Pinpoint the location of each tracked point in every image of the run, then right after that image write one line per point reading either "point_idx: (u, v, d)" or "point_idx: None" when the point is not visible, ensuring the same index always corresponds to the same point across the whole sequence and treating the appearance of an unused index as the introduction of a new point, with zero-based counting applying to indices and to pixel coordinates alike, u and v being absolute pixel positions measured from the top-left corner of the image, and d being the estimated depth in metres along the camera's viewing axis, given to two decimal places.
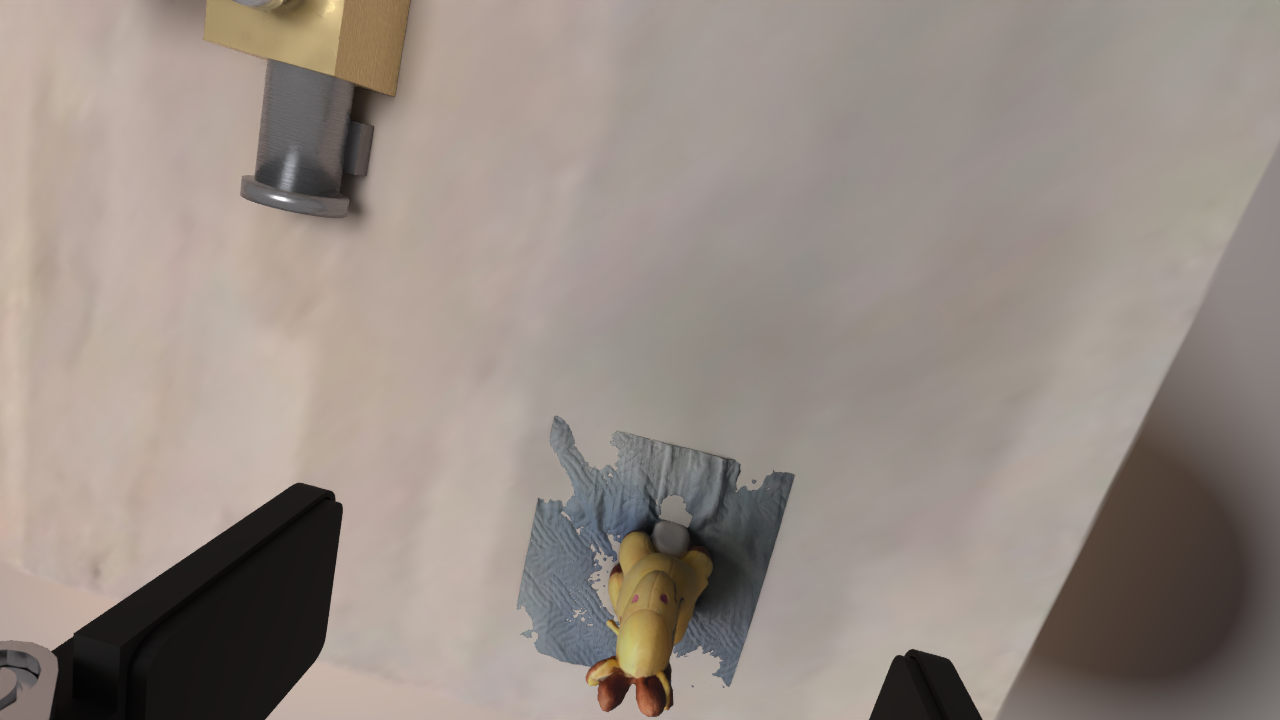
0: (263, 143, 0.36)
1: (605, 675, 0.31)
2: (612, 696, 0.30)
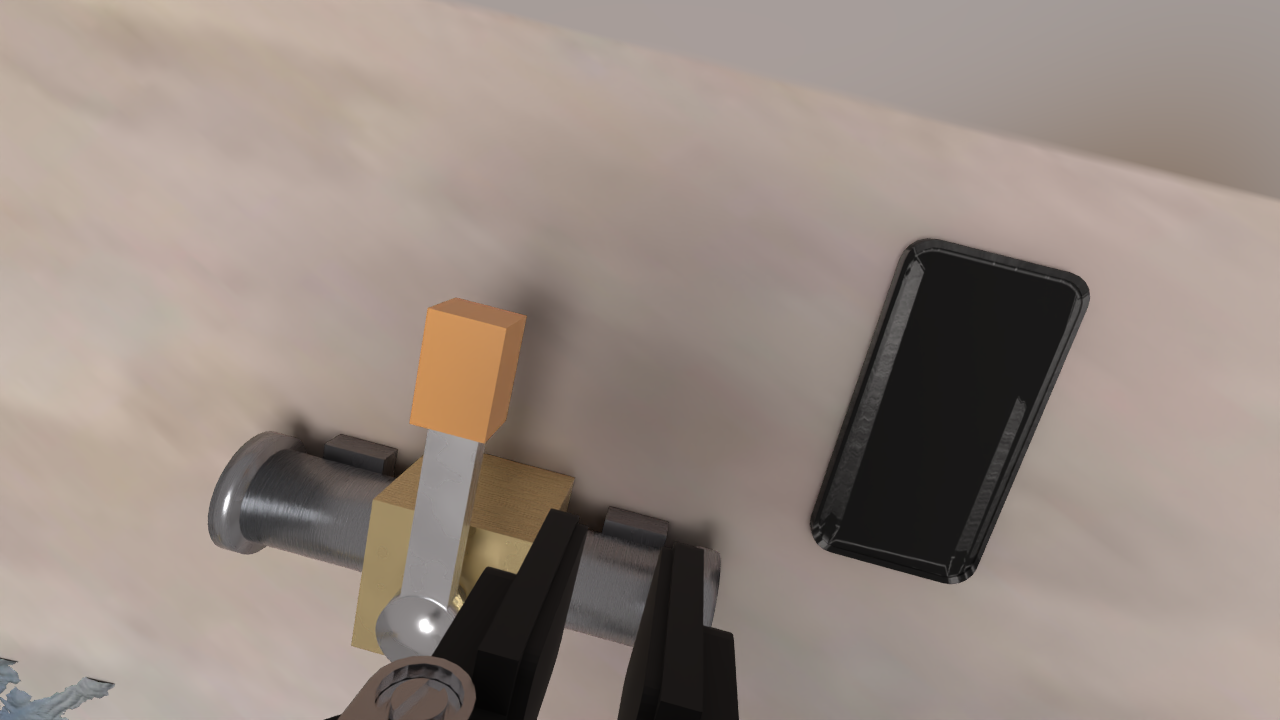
0: (291, 505, 0.29)
1: None
2: None
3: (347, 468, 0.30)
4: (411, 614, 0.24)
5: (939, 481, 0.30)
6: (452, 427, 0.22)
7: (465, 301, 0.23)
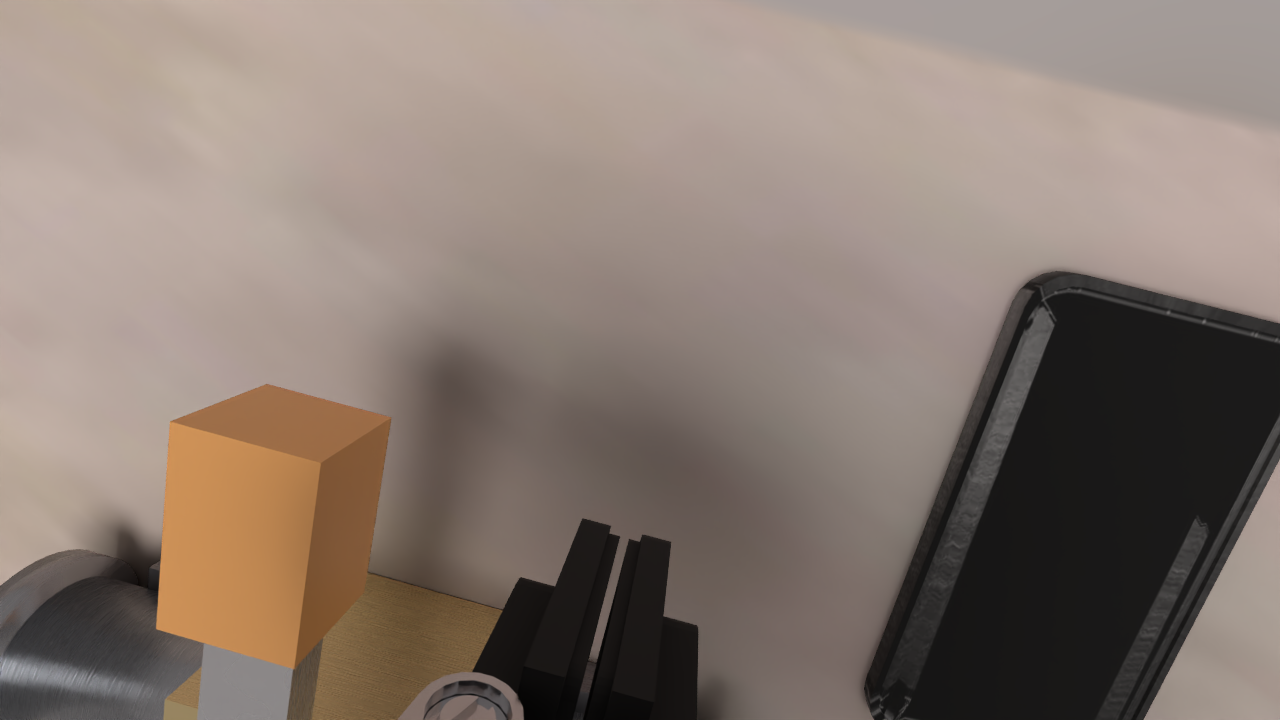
0: (68, 681, 0.18)
1: None
2: None
3: None
4: None
5: (1066, 638, 0.20)
6: (233, 638, 0.11)
7: (280, 392, 0.13)
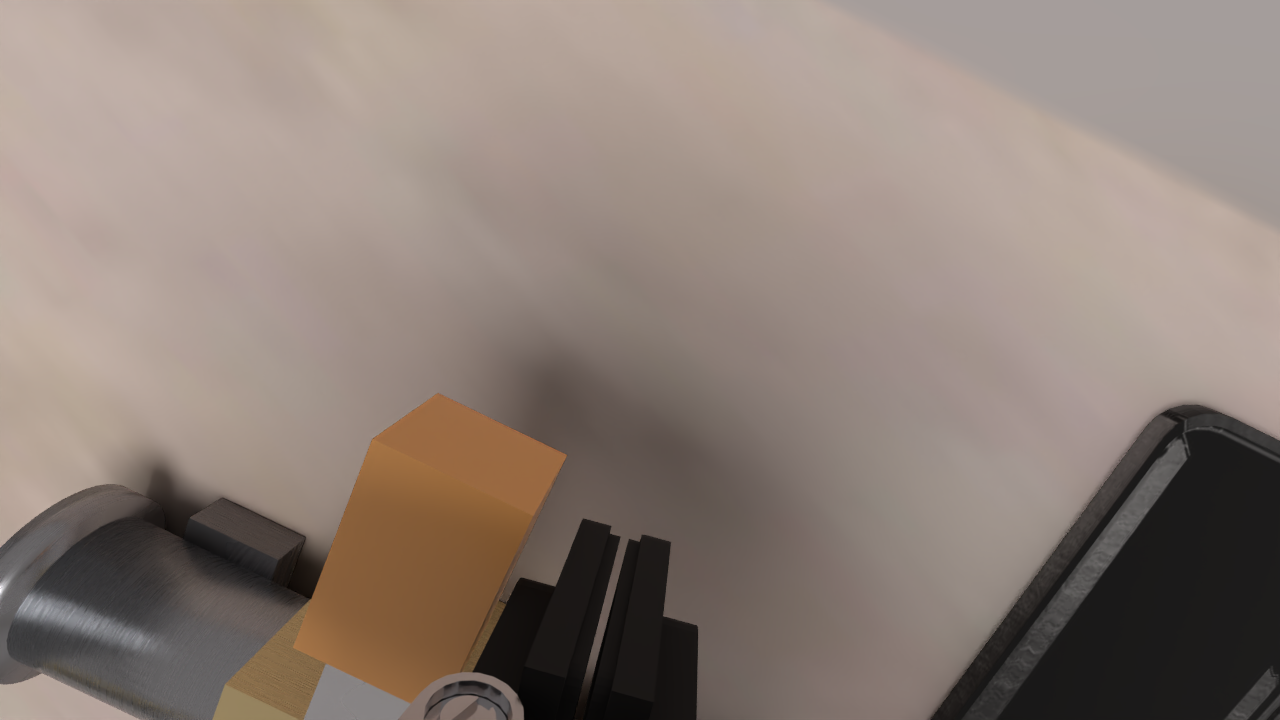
0: (99, 633, 0.17)
1: None
2: None
3: (214, 570, 0.19)
4: None
5: None
6: (379, 674, 0.10)
7: (454, 406, 0.12)
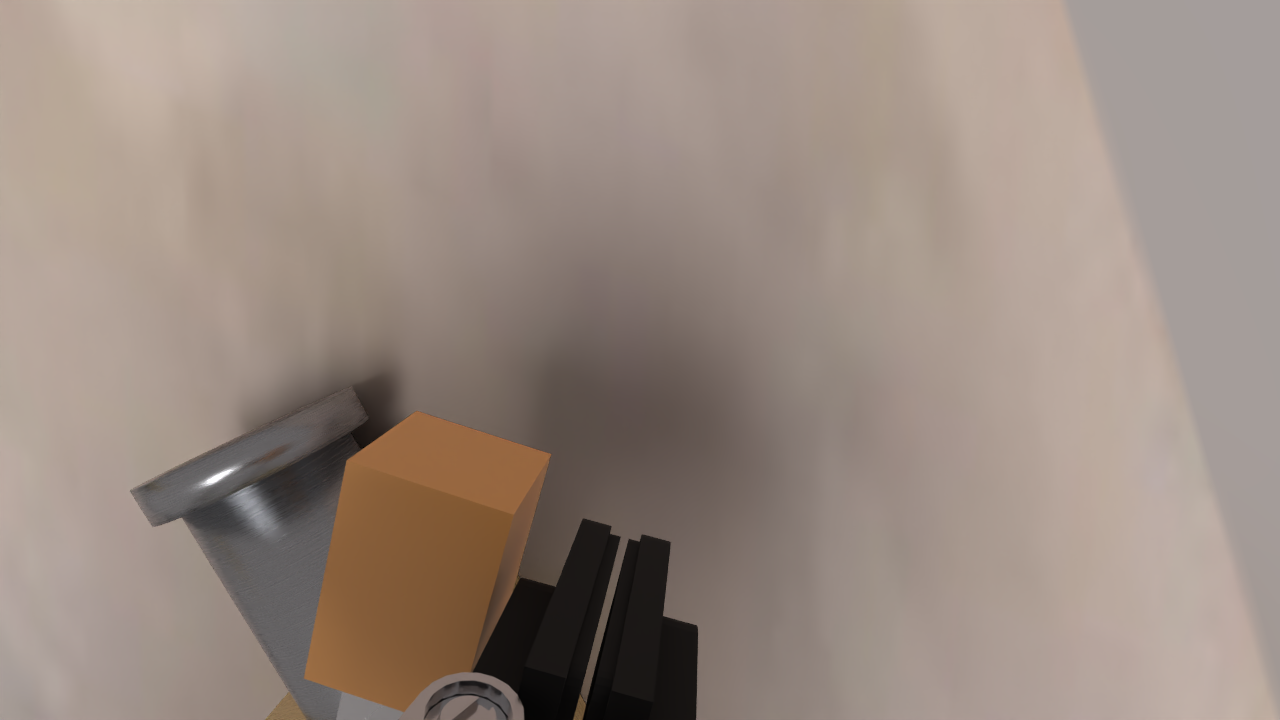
0: (293, 559, 0.16)
1: None
2: None
3: None
4: None
5: None
6: (390, 694, 0.11)
7: (433, 421, 0.12)
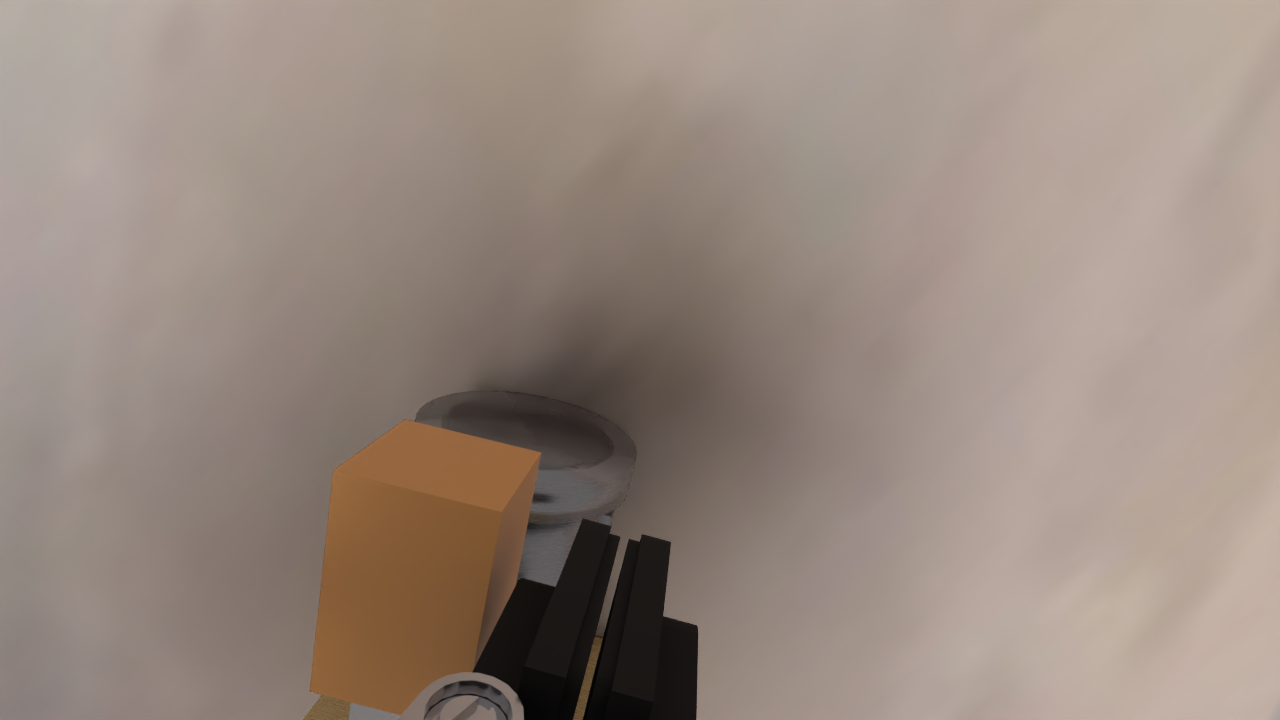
0: None
1: None
2: None
3: None
4: None
5: None
6: (396, 700, 0.11)
7: (422, 428, 0.12)
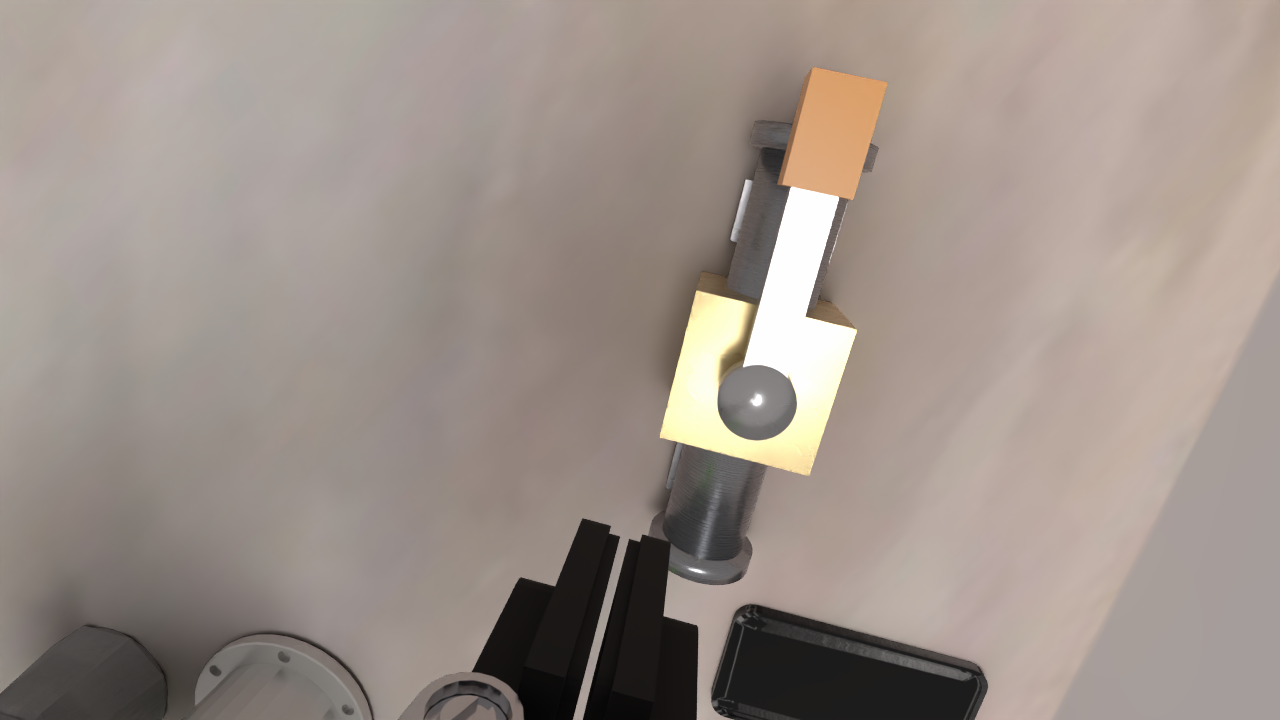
0: None
1: None
2: None
3: None
4: (754, 381, 0.26)
5: (795, 692, 0.40)
6: (823, 185, 0.23)
7: None
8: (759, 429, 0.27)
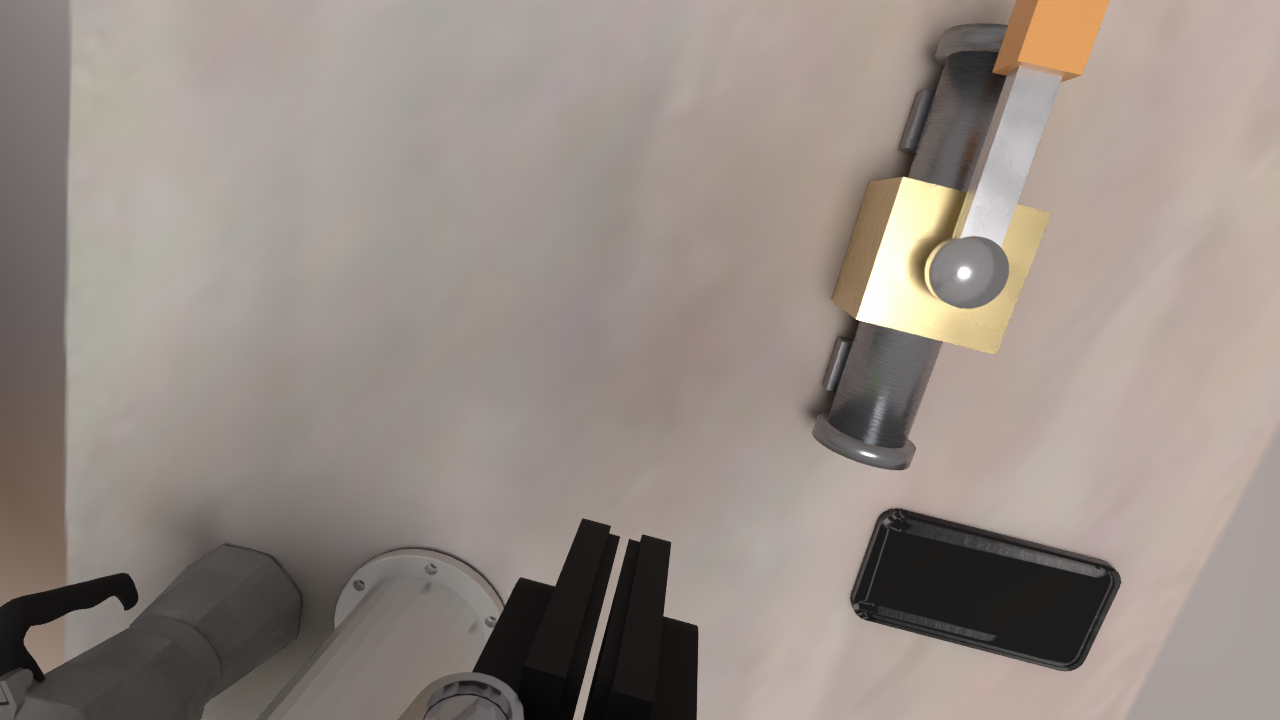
0: None
1: None
2: None
3: None
4: (970, 252, 0.29)
5: (935, 593, 0.42)
6: (1056, 61, 0.26)
7: None
8: (971, 297, 0.29)
